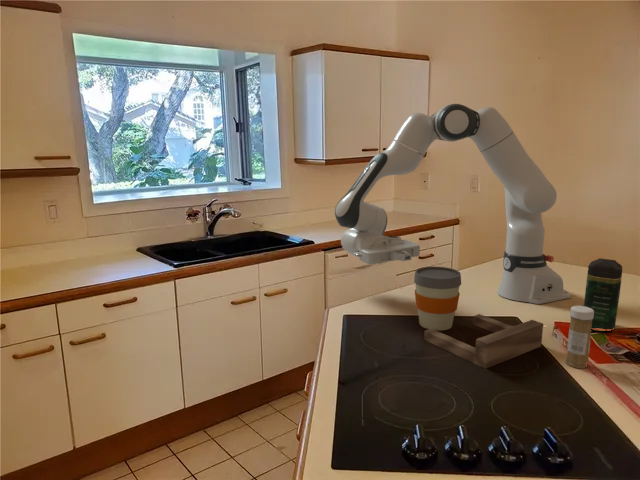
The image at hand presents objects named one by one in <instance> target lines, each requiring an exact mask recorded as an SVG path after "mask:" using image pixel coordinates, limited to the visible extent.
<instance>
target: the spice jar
mask: <svg viewBox="0 0 640 480" xmlns="http://www.w3.org/2000/svg"><path fill="white" fill-rule="evenodd" d="M569 312H570V313H569V315H570V316H569V317H570V322H569V329H568V339H567V348H566V349H567V353H566V360H565V363H566V364H567V365H568V366H570V367H573V368H575V369H576V368H577V369H586V368H587V367H586V363H587V361H588V362H589V354H590V350H591V348H590V347H591V335H592V330H591V328H592V320H593V318H594V310H593V309H591V308H589V307H585V306H584V305H574V306H571V307H570V311H569ZM585 367H586V368H585Z"/></svg>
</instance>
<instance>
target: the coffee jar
mask: <svg viewBox="0 0 640 480" xmlns="http://www.w3.org/2000/svg"><path fill="white" fill-rule="evenodd" d="M587 268H588V269H587V273H586V283H585V291H584V292H585V293H584V300H583V306H585V307H589V308H591V309H593V310H594V318H593V320H592V328H603V329H613V328H614V329H615V328H616V322H617V315H618V307H619V302H620V295H621V294H620V293H621V286H622V275H623V266H622V264H621V263H619V262H617V260H616V259H615V260H614V259H608V258H599V257H598V259H594V260H592V261H591V262H589V264H588V266H587Z"/></svg>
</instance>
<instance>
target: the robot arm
mask: <svg viewBox="0 0 640 480" xmlns="http://www.w3.org/2000/svg"><path fill="white" fill-rule="evenodd" d="M466 138H469V139H470V140H472V142H474V143H475V145H476V146H477V148H478V151H479V152H480V154H481V155H482V157H483V159H484V160H485V161H486V163H487V164H488V166H489V168H490V169H491V171H492V173H493V174H494V175H495V177H497V178H498V180H499V181H500V183H501V184H502V185H503V186H504V188H503V189H504V190H503V194H504V200H505V203H504V204H505V216H506V218H505V219H506V240H505V241H506V242H505V250H504V252H503V259H502V260H503V261H502V264H503V271H502V276H501V281H500V284H499V287H498V290H497V295H499V296H501V297H503V298H504V299H508V300H513V301H517V302H525V303H526V302H527V303H530V304H536V305H541V304H546V303H547V304H548V303H550V302H556V301H561V300H566V299H570V298H572V294H571V293H570V292H569V291H567V290H566V289H564V280H563V278H562V276H561V275H560V274H558V273H557V272H556V271H554V269H552V268H551V267H549V266H548V264H547V262H549V263H553V262H554V261H555V257H554V256H553V255H550V254H547V255H546V254H544V253H543V252H544V246H545V245H544V244H545V242H544V241H545V233H546V232H545V231H546V230H545V226H544V223H543V222H544V221H543V215H542V213H545V212H547V211H549V210H550V209H552V208H553V207H554V206H555V204H556V202H557V195H558V194H557V190H556V188H555V187H554V185H553V184H552V183H551V182H550V181H549V179H548V178H547V177H546V175H545V174H544V173H543V171H542V170H541V169H540V167H539V166H538V165H537V163H536V162H535V161H534V160H533V159H532V158H531V157H530V155H529V154H528V153H527V151H526V150H525V148H524V146H523V145H522V144H521V141H520V140H519V138H518V136H517V135H516V133H515V132H514V130H513V128H512V127H511V126H510V124H509V123H508V122H507V120H506V119H505V117H503V115H502V114H501V113H500V112H499V111H498V110H497V109H496V108H494V107H491V106H485V107H482V108H480V109H478V110H473V109H472V108H470V107H468V106H466V105H463V104H461V103H452V104H447V105H445V106H443V107H441V108H440V109H439V110H437V111H436V112H435V113H434V114H431V115H430V116H429V115H427V114H425V113H421V112H414V113H411V114H410V115H409V116H408V117H407V118H406V119H405V121H404V122H403V123H402V125H401V126H400V128H398V130H397V132H396V134H395V136H394V138H393V139H392V141H391V142H390V144H389V145H388V146H387V148H385V150H383V151H382V152H379V153H378V154H377V153H376V155H375V156H374V157H372V158H371V159H370V160H369V162H368V164H367V165H365V166H366V167H365V168H364V169H363V170H362V172H361V173H360V174H359V176H358V177H357V179H356V180H355V182H354V183H353V184H352V185H351V187H350V189H348V190H347V192H346V193H345V195H344V196H342V197H341V198H340V199H339V201H338V202H337V203H336V204H335V205H336V206H335V208H334V215H335V220H336V221H337V223H338V225H339V226H340V227H343V228H348V229H347V230H345V231H344V232H343V233H342V235H341V238H340V244H341V247H342V248H343V250H344V251H346V252H347V253H348V254H350V255H351V256H354V257H355V258H356V257H357V258H358V259H359V261H361V262H362V263H364V264H367V265H377V264H382V263H387V262H394V261H401V262H407V261H411V260H412V258H415V257H419V256H420V253H421V247H420V244H419V243H416V242H414V241H411V240H408V239H403V238H402V237H400V236H396V235H395V236H393V235H392V236H390V235H389V236H387V235H384V234H385V232H386V229H387V226H388V215H387V212H386V210H385V209H384V208H383V207H380V206H377V205H375V204H374V203H373V204H372V203H370V202H367V201H365V198H366V197H367V196H368V195H369V193H370V192H371V190H372V189H373V188H374V186H375V185H376V184H377V182H378V181H379V180H381V179H382V178H385V177H388V176H404V175H408V174H411V173H412V172H415V170H416V169H417V168H418V167H419V165H420V164H421V162H422V160H423V158H424V156H425V155H426V153H427V151H428V149H429V147H430V146H431V144H433V142H435V141H437V140H439V141H443V142H444V141H445V142H452V143H453V142H457V141H460V140H464V139H466Z"/></svg>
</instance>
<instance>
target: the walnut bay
mask: <svg viewBox="0 0 640 480" xmlns="http://www.w3.org/2000/svg"><path fill="white" fill-rule="evenodd" d="M472 325H473V326H475V327H479V328H481V329H484V330H486V331H489V332H492V333H490V334H487V335H484V336H481V337H478V338H476V340H475V346H472V345H470V344H468V343H465V342H464V341H463V342H462V341H461V340H458V339H456V338H454V337H452V336H450V335H447V334H445V333H442V332H441V331H439V330H434V329H426V330H424V334H423V335H424V338H423V339H424V341H426V342H428V343H430V344H432V345H435V346H436V347H439V348H441V349H443V350H444V351H448V352H449V353H451V354H453V355H456V356H457V357H459V358H461V359H464V360H466V361H468V362H470V363H472V364H474V365H476V366H479V367H480V368H482V369H485V370H486V369H489V368H492V367H494V366H496V365H498V364H501V363H504V362H506V361H509V360H511V359H514V358H517V357H519V356H521V355H523V354H526V353H528V352H531V351H533V350H536V349H539V348H541V347H542V342H543V333H544V332H543V330H544V323H543V322H540V321H536V320H534V319H531V320H528V321H525V322H522V323H519V324H516V325H510V324H509V323H504V322H502V321H499V320H497V319H493V318H491V317H488V316H485V315H482V314H481V313H478V314H475V315H473V316H472Z"/></svg>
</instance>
